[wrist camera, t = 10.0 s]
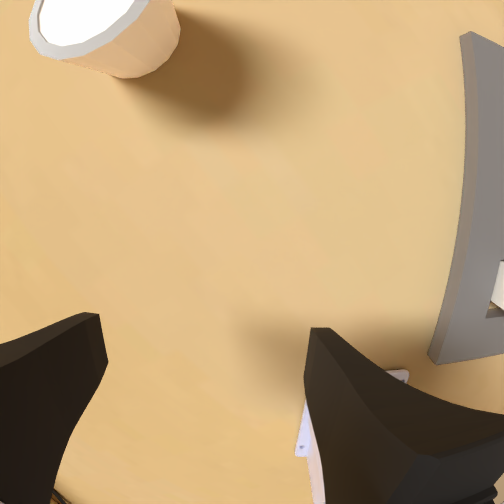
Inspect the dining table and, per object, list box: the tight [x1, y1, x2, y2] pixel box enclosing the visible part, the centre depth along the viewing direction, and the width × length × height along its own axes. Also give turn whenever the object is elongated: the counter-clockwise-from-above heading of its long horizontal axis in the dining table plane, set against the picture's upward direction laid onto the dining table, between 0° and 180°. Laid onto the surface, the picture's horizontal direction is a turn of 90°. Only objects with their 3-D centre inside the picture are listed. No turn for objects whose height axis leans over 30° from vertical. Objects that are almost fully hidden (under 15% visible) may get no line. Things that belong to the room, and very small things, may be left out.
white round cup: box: [29, 0, 181, 79], centre depth 12 cm, size 7×7×7 cm
